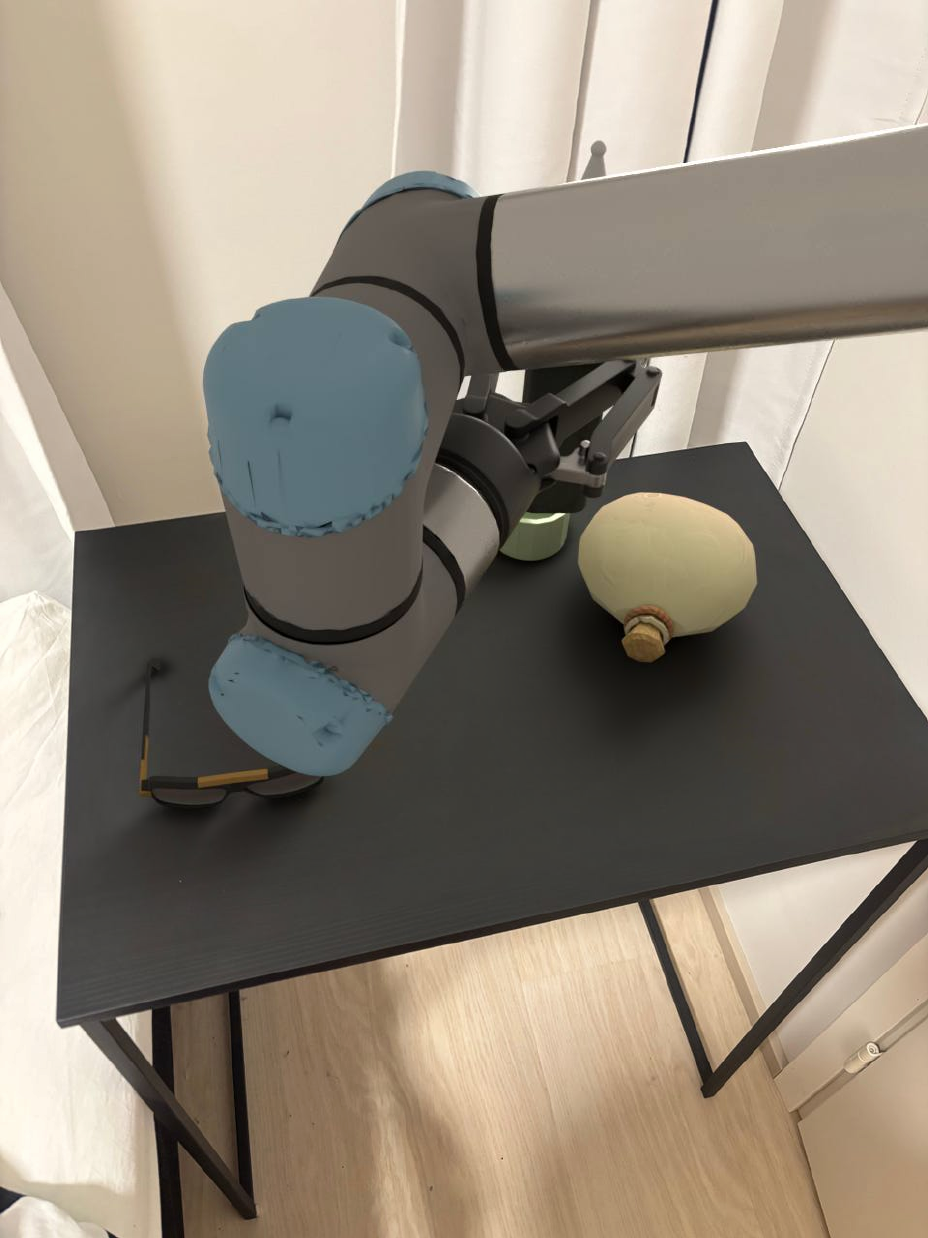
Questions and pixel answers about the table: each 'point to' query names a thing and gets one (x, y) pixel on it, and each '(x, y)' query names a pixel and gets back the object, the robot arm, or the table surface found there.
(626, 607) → the flask
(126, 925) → the table surface
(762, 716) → the table surface
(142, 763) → the sunglasses
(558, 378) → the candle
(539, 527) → the candle holder
